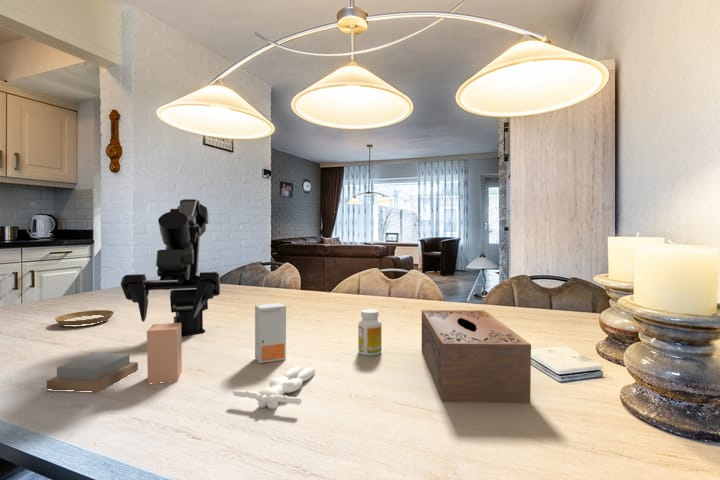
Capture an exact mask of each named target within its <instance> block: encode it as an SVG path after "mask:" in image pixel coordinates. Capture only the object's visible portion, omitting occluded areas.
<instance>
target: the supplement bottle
mask: <svg viewBox="0 0 720 480" xmlns="http://www.w3.org/2000/svg"><path fill="white" fill-rule="evenodd" d="M360 316H361V319H360V320H359V321H358V328H357V329H358V331H357V332H358V333H357V335H358V338H357V339H358V340H357V341H358V344H357V345H358V349H357V350H358V353H359V355H363V356H367V357H368V356H378V355H380V354H381V353H382V347H383V346H382V321H381V320H380V319H379V310H377V309H375V308H374V309H371V308H367V309H362V310H361V313H360Z"/></svg>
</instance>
